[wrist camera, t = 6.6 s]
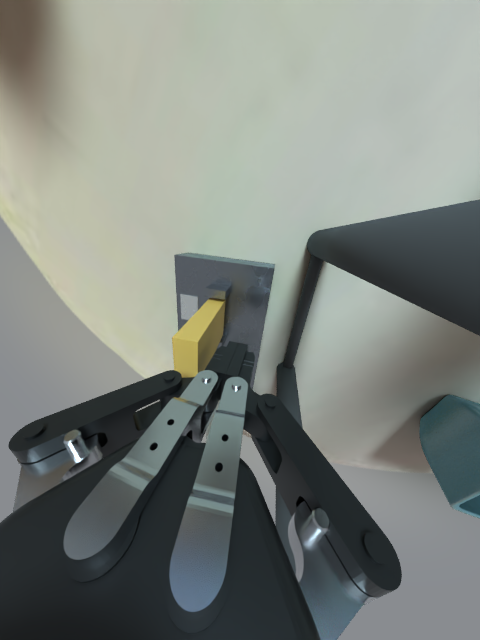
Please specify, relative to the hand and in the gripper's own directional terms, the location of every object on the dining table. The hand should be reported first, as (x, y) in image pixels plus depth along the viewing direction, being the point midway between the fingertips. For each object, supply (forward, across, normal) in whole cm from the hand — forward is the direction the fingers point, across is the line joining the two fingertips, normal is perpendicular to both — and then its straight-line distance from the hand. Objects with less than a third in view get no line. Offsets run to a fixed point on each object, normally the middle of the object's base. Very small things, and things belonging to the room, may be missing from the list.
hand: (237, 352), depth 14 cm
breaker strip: (+9, +4, +4) cm, 11 cm away
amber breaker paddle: (+5, +3, 0) cm, 6 cm away
